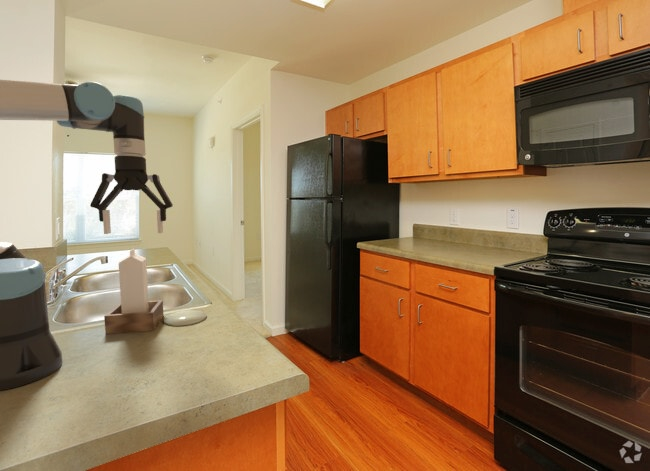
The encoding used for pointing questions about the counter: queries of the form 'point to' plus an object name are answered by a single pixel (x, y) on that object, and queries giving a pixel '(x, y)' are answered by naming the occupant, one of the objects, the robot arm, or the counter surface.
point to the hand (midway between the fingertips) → (134, 233)
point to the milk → (133, 284)
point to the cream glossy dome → (184, 318)
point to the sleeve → (133, 319)
